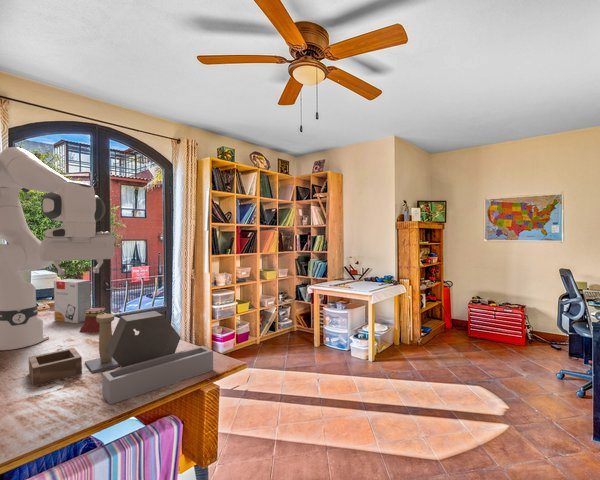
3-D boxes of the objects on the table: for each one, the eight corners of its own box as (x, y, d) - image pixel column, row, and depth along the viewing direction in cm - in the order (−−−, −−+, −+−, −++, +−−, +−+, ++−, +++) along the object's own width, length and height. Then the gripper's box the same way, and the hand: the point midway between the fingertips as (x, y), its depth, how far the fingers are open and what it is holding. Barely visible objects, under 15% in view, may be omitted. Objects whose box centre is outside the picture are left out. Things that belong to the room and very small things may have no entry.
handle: (101, 366, 101) (100, 319, 101) (94, 361, 105) (93, 315, 105) (117, 361, 105) (117, 316, 105) (110, 356, 109) (109, 313, 109)
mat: (84, 363, 105) (84, 361, 105) (118, 355, 112) (118, 353, 112) (92, 373, 98) (92, 370, 98) (127, 363, 105) (127, 361, 105)
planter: (181, 343, 111) (145, 298, 103) (190, 349, 105) (152, 301, 97) (136, 382, 102) (93, 336, 94) (144, 391, 96) (99, 343, 88)
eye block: (29, 373, 98) (28, 357, 98) (74, 362, 106) (74, 347, 106) (33, 385, 90) (32, 368, 90) (81, 373, 98) (81, 357, 98)
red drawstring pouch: (110, 326, 148) (110, 307, 148) (98, 332, 139) (98, 311, 139) (91, 326, 148) (91, 307, 148) (79, 332, 139) (78, 311, 139)
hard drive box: (53, 321, 158) (52, 280, 157) (68, 317, 165) (68, 278, 165) (77, 323, 153) (76, 281, 153) (92, 319, 161) (91, 279, 160)
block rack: (102, 395, 85) (102, 372, 85) (202, 364, 105) (202, 345, 105) (109, 404, 80) (109, 380, 80) (213, 370, 100) (213, 350, 100)
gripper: (112, 231, 114) (112, 270, 114) (38, 230, 99) (38, 275, 100) (118, 232, 109) (117, 272, 110) (41, 231, 95) (41, 277, 95)
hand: (79, 273), depth 105 cm, fingers open, 8 cm apart
